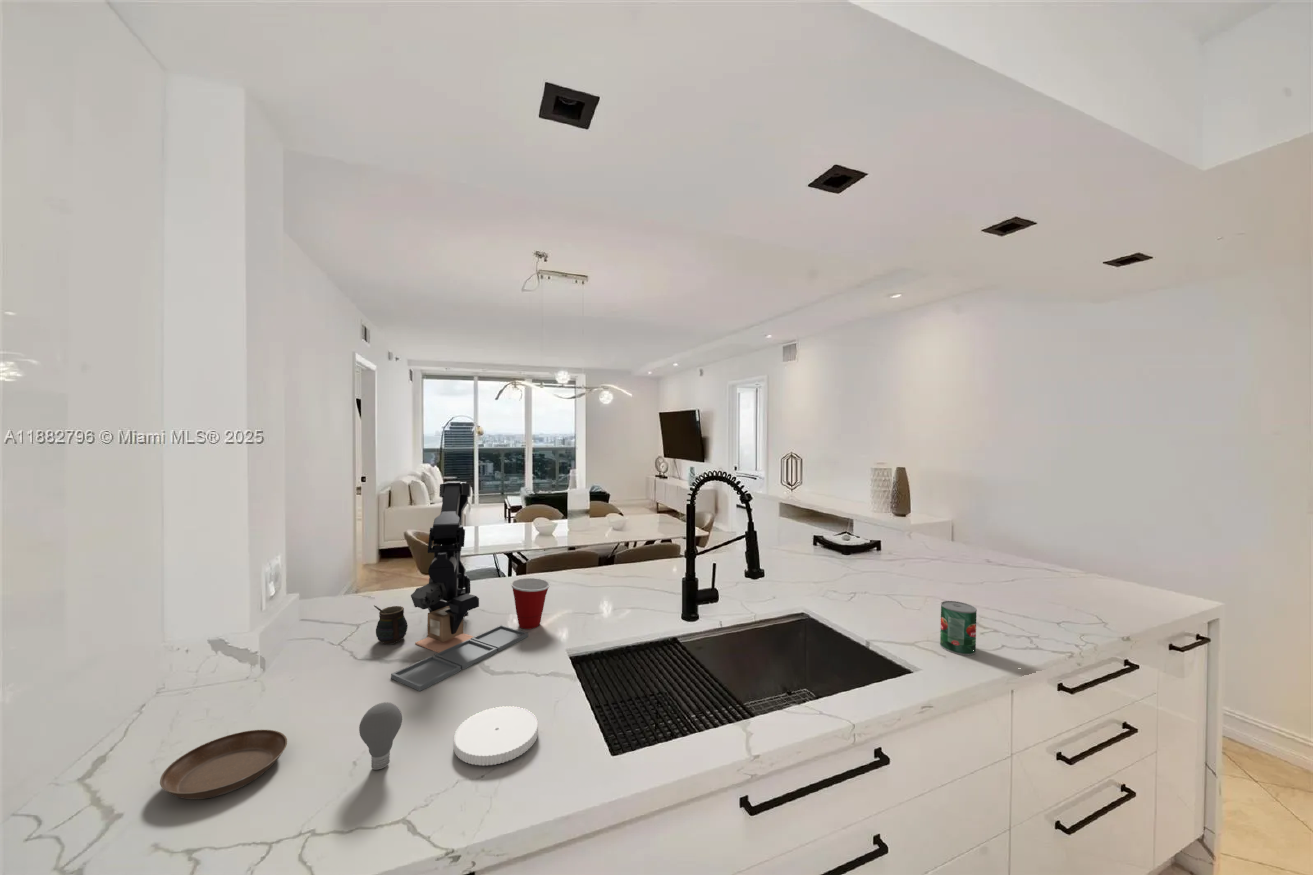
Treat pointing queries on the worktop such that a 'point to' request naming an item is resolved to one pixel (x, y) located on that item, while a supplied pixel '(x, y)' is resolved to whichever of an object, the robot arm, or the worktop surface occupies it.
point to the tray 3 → (500, 637)
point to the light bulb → (380, 732)
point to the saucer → (223, 764)
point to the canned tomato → (958, 627)
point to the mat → (441, 646)
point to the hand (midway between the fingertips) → (445, 631)
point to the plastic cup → (529, 600)
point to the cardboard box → (441, 625)
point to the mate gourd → (391, 625)
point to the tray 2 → (466, 653)
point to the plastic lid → (495, 735)
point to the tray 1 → (425, 672)
